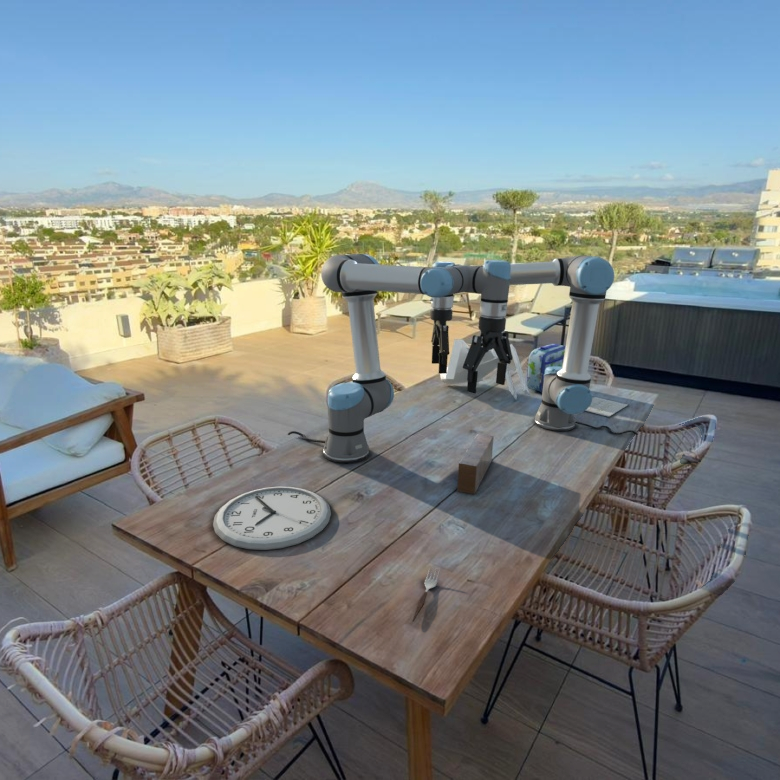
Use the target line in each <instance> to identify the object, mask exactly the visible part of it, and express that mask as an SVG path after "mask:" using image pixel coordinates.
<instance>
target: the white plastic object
mask: <svg viewBox="0 0 780 780" xmlns="http://www.w3.org/2000/svg"><path fill="white" fill-rule="evenodd" d="M510 348H511V353H512V357H513V358H512V360H513V363H514V366H515V369H516V372H517V376H518V380H519V382H520V385H521V389H522V391H523V393H524V395H525V396H526V397H528V396H531V395H530V389H528V387H527V380H526V378H525V375H524V371H523V369H522V368H523V367H522V366H521V362H520V359H519V355H518V352H517V349H516V347H515V346H514V345H513V343H510ZM469 349H470V346H469V345H468V343H466V342H465V340H464V339H463V338H460V339H458V338H454V340H453V344H452V349H451V353H450V357H449V362H448V365H447V374H439V376H440V381H442V383H443V384H444V385H445V386H449V385H458V384H468V381H467V377H468V376H467V375H468V370H466V369H463V364H464V362H465V359H466V357H467V354H468V351H469ZM498 362H500V360H499V358H498V356H497V354H496V352H495V350H494V349H491V350H489V351H488V352H486V353H485V355H484V357H483V358H482V360H481V362H480V364H479V366H478V367H477V369H476V371H478V375H477V383H480V382H482V381H484V378H485V377H486V376H487V375H489V374H490V373H492V372H494V371H495V370H497V366H498ZM505 381H506V383H507V386H508V390H509V393H510V394H511V395H512V397H513V398H514V399H515V400H517V392H516V391H517V390H516V388H515V385H514V381H513V378H512V375H511V371H510V369H509V364H507V369H506V376H505Z"/></svg>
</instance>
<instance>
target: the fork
mask: <svg viewBox="0 0 780 780" xmlns="http://www.w3.org/2000/svg"><path fill="white" fill-rule="evenodd" d="M437 569H438V567H436V568H435V571H434V566H432V570H431V565H429V568H428V572H427V574H426V577H425V580H424V586H425V591H424V592H423V594H422V595H421V597H420V598H419V600H418V602H417V606H416V608H415V612H414V614H413V618H412V623H413V622H414V621H415V620H416V618H417V616H418V615H419V613H420V611H421V610H422V609H423V607H424V605H425V603H426V598H427V596H428V591H429V590H430V589H433V588H435V587H436V586H438V585H437V584H438V580H439V576H440V570H441V568H440V567H439V569H438V572H437ZM430 571H431V573H430ZM433 573H434V574H433ZM436 573H437V575H436Z"/></svg>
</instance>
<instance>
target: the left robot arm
mask: <svg viewBox="0 0 780 780" xmlns="http://www.w3.org/2000/svg"><path fill="white" fill-rule="evenodd" d="M511 264H512V263H510V262H509V261H508V260H501V259H500V260H499V259H486V260H484V262H483V264H482V265H483V267H475V266H476V265H471V266H465V265H466V264H465V265H463V264H458V263H457V264H455V265H447V266H446V267H444V268H438V267H433V266H416V265H415V266H413V265H397V264H395V265H392V264H380V263H379V261H378V260H377V259H376V258H375V257H374V256H373V255H371V254H366V253H351V254H349V253H348V254H336V255H332V256H330V257H329V258H327V259H326V260H325V261H324V263H323V265H322V266H321V270H320V274H321V275H320V276H321V280H322V282H323V284H324V286H325V287H326V288H327V289H328V290H330V291H332V292H335V293H341V296H342V299H343V300H344V301H346V302H347V309H348V315H349V316H348V317H349V324H350V325H349V326H350V334H351V335H350V336H351V342H352V343H351V344H352V351H353V359H354V368H355V373H354V374H353V375H352V377H351V381H350V382H349V381H348V382H347V381H346V382H344V383H343V382H342V383H341V382H340V383H338V384H336V385H334V386H332V387H331V388H329V390H328V393H327V401H326V402H327V404H326V405H327V422H328V423H327V425H328V432H327V436H326V439H325V440H323V439H313V438H308V437H306V435H305V434H303V433H301V432H299V431H296V430H291V431H289V432H288V433H287V435H288V436H291V435H293V434H294V435H298V436H300V437H302V438H303V440H305V441H307V442H312V443H318V444H319V443H321V444H324V446H323V450H322V451H323V453H322V455H323V457H324V458H325V459H326V460H328V461H330V462H333V463H338V464H353V463H358V462H361V461H363V460H365V459H367V458H368V457H369V455H370V446H369V444H368V441H367V438H366V434H365V429H364V428H365V419H367V418H370V417H372V416H374V415H376V414H379V413H382V412H383V411H385V410H386V409H388V408H389V407H390V406H391V405H392V403H393V401H394V397H395V390H394V385H393V384H392V383H390V380H389V379H388V378H387V375H386V373H385V372H384V371H383V370H382V369H381V360H380V352H379V351H380V350H379V342H378V341H379V340H378V332H377V323H376V322H377V321H376V314H375V303H374V302H375V301H374V299H375V297H376V296H377V295H378V292H387V293H399V294H400V293H401V294H411V295H422V296H423V295H425V296H427V297H429V298H432V297H444V296H447V295H452V294H453V295H456V294H457V295H458V294H462V293H467V294H468V293H469V294H478V295H480V303H479V317H478V328H477V329H478V330H479V331H480V335H475V334H473V335H472V337H471V338H472V339H471V344H470V346H469V347H470V349H469V351H468V354H467V357H466V359H465V362H464V364H463V369H466V370H468V375H467V376H468V377H467V381H468V383H466V384H467V385H466V392H468V393H470V394H477V385H478V382H477V375H478V371H476V369H477V367H478V366H479V364H480V362H481V360H482V358H483V357H484V355H485V353H486V352H488V351H489V350H491V349H492V350H495V352H496V354H497V356H498V358H499V360H500V362H498V366H497V368H496V377H495V384H498V385H501V386H505V384H506V377H505V376H506V369H507V365H510V364H511V362H512V360H513V359H512V358H513V357H512V353H511V348H510V344H511V343H510V339H509V338H510V337H509V335H510V333H509V331H507V330H506V325H507V319H506V316H507V313H508V303H509V294H510V293H509V292H510V286H511V285H510V280H511V277H510V274H511Z"/></svg>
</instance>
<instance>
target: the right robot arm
mask: <svg viewBox="0 0 780 780" xmlns="http://www.w3.org/2000/svg"><path fill="white" fill-rule="evenodd" d="M510 264H511V274H510V277H511V280H510V285H509V286H519V285H521V286H522V285H523V286H524V285H543V284H544V285H545V284H552V285H553V286H554V287H562V286H563V287H569V293H568V297H569V298H570V299H571V302H572V304H571V310H570V316H569V323H568V329H567V336H566V341H565V346H566V347H565V353H564V360H563V366H562V367H547V368H546V369H545V374H544V382H543V392H542V393H541V402H540V405H539V407H538V410H537V411H536V413H535V417H534V424H535V425H536V426H537V427H539V428H542V429H544V430H549V431H556V432H567V431H572V430H574V429H575V428H576V425H580V426H584V427H587V428H590V429H593V430H601V429H603V428H604V429H607V430H608V432H609V433H610V434H612V435H615V436H616V435H617V436H620V435H625V434H628V433H629V434H630V433H632V434H634V435H636V436H638V435H639V433H637V432H636V431H635V430H632V429H628V430H625V431H622V432H621V431H620V432H615V431H613V430H612V429H611V428H610V427H609V426H608V425H600V426H593V425H591V424H587V423H584V422H581V421H576V418H575V417H576V416H575V415H579V414H582V413H584V412H586V411H585V410H586V409H588V407H589V406H590V405H591V402H592V398H593V393H592V391H591V389H590V386H591V381H592V376H591V374H590V373H589V372H588V371H589V365H590V361H591V360H590V359H591V353H592V347H593V342H594V337H595V330H596V325H597V320H598V319H597V318H598V314H599V308H600V304H601V303H602V302H604V301H605V300H606V296H607V291H608V290H609V289H610V288H611V287H612V286H613V284H614V280H615V271H614V268H613V266H612V264H611V263H610V262H609V261H608V260H606V259H605V258H603V257H600V256H593V255H587V254H580V255H574V256H569V257H561V258H554V259H553V260H552V261H538V262H520V263H519V262H518V263H510ZM447 265H456V263H455V262H453V261H436V262H434V263H433V264H432V267H438V268H444V267H446V266H447ZM483 265H484V264H482V265H481V264H479V265H474V266H475V267H483ZM465 266H472V265H470V264H465ZM454 298H455V297H454V294H452V295H447V296H444V297H429V302H430V307H431V308H430V315H429V316H430V317H429V318H430V320H431V321H433V328H432V334H431V340H430V341H431V364H433V365H434V364H435V365H436V364H438V374H439V375H440V374H447V367H448V358H449V357H448V356H449V355H450V340H449V337H450V336H449V328H450V327H449V325H447V322H450V321H452V320H453V308H454Z"/></svg>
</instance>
